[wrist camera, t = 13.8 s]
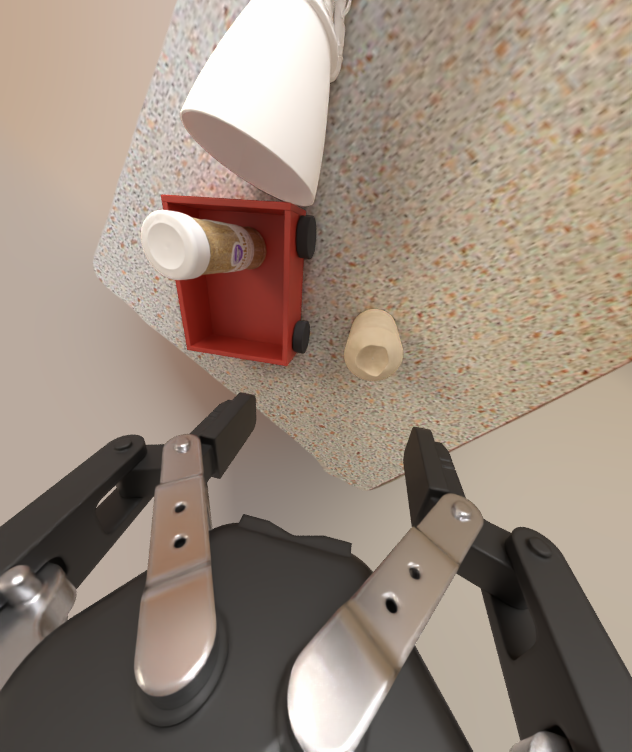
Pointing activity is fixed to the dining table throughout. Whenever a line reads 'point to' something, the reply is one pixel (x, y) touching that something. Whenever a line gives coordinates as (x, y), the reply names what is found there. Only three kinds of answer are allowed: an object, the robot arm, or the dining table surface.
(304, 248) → the cart wheels
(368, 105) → the dining table surface
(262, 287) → the cart
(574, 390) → the dining table surface
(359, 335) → the candle
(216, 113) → the rocket engine
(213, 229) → the sprinkles bottle
